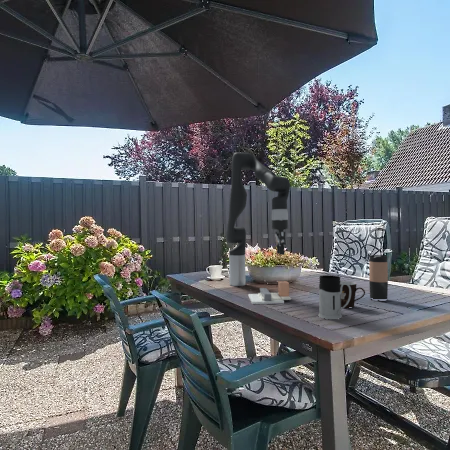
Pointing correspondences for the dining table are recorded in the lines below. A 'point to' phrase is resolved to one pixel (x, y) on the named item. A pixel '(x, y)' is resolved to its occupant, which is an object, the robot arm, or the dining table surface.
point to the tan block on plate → (283, 290)
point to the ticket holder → (265, 297)
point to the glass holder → (331, 297)
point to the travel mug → (378, 276)
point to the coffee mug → (346, 293)
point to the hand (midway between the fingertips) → (280, 254)
